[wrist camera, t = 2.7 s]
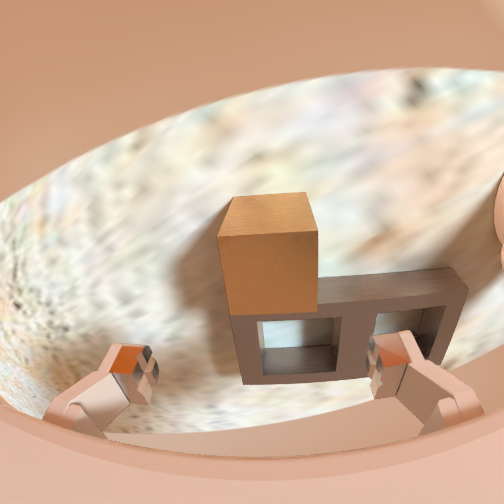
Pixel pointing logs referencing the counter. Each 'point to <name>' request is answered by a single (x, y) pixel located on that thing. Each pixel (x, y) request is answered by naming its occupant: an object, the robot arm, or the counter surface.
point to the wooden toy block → (270, 254)
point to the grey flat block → (352, 326)
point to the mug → (500, 217)
